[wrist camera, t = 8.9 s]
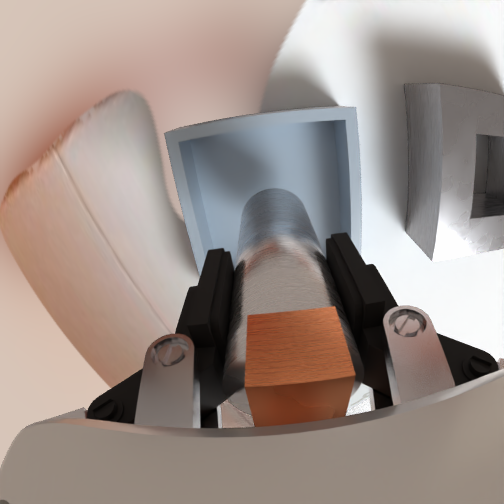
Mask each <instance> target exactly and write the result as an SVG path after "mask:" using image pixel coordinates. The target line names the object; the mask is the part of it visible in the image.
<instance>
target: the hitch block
mask: <svg viewBox="0 0 504 504" xmlns="http://www.w3.org/2000/svg"><path fill="white" fill-rule="evenodd" d="M404 87H405V97H406V109H407V124H408V151H409V180H408V208H407V223H406V233H407V234H408V235H409V236H410V238H411V239H412V240H413V241H414V242H415V243H416V244H417V245H418V246H419V247H420V248H421V249H422V251H423V252H424V253H425V254H426V255H427V256H428V257H429V258H430V260H431V261H432V262H435V261H440V260H446V259H452V258H457V257H462V256H468V255H473V254H478V253H483V252H488V251H493V250H498V249H503V248H504V96H503V95H499V94H495V93H491V92H486V91H481V90H476V89H471V88H466V87H460V86H454V85H447V84H440V83H423V84H404ZM476 134H483V135H489V156H488V173H487V184H486V193H477V194H473V191H474V179H475V164H476Z"/></svg>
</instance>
